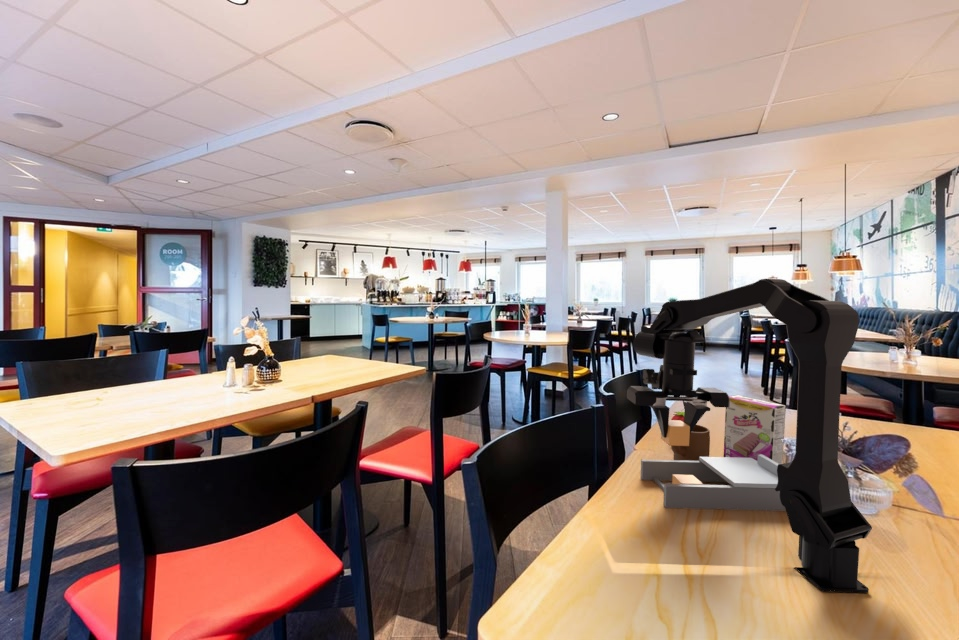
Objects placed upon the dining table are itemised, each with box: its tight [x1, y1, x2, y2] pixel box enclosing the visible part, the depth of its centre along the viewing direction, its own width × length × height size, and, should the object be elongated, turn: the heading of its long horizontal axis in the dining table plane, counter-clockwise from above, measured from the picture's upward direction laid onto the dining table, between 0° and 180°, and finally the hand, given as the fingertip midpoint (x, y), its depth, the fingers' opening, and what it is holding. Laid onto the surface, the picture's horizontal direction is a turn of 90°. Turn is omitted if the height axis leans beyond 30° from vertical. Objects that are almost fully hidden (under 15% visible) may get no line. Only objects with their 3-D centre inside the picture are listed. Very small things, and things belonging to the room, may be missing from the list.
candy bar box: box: [723, 394, 787, 464], centre depth 97 cm, size 11×5×16 cm, turn 27°
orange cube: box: [660, 419, 690, 447], centre depth 84 cm, size 4×4×4 cm
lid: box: [699, 455, 778, 488], centre depth 82 cm, size 13×11×3 cm
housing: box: [640, 459, 786, 512], centre depth 82 cm, size 13×24×5 cm, turn 88°
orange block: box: [671, 474, 704, 485], centre depth 79 cm, size 4×4×4 cm
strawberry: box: [670, 411, 685, 422], centre depth 115 cm, size 6×8×10 cm
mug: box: [670, 424, 711, 461], centre depth 96 cm, size 12×8×9 cm, turn 124°
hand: (674, 437), depth 84 cm, fingers closed on orange cube, 4 cm apart
